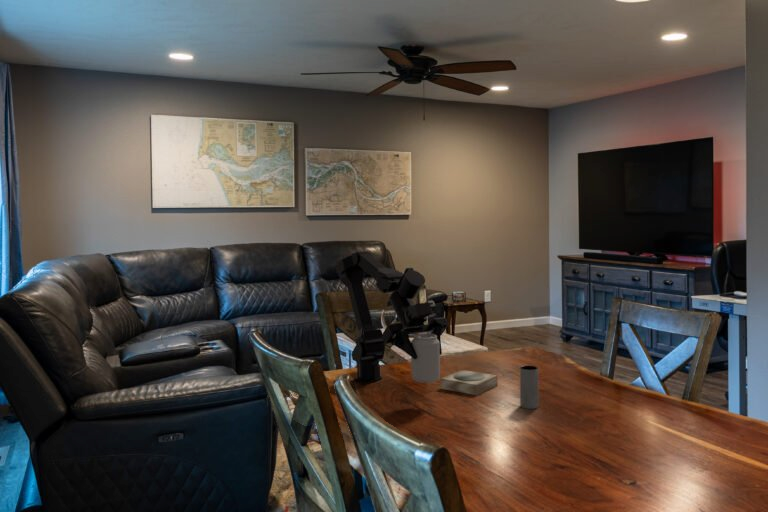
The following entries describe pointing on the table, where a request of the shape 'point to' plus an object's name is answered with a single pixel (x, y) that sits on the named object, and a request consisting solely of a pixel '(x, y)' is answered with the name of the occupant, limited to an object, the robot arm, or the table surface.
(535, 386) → the grey cylinder
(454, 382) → the pedestal
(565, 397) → the table surface
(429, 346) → the can
